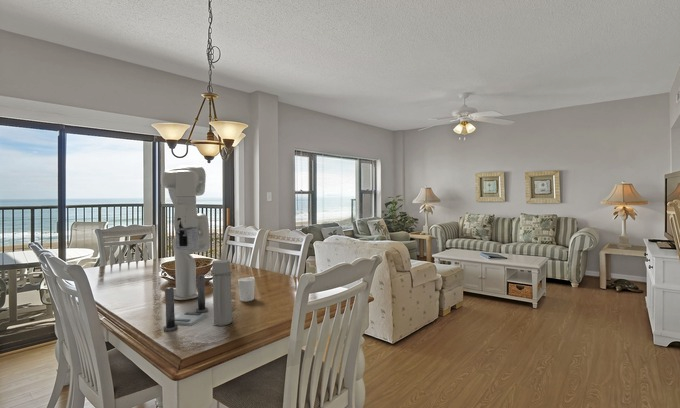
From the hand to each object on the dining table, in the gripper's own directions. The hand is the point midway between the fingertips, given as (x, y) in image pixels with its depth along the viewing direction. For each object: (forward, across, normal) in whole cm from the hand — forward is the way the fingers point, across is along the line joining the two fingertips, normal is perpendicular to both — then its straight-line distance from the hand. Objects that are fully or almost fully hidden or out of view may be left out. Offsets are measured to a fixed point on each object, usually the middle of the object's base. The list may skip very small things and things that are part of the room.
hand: (187, 244), depth 148 cm
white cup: (+31, -29, +12) cm, 44 cm away
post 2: (+31, -10, 0) cm, 33 cm away
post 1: (+31, +11, -1) cm, 33 cm away
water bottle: (+31, +4, +17) cm, 36 cm away
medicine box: (+2, 0, 0) cm, 2 cm away
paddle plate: (+31, +1, -1) cm, 31 cm away
